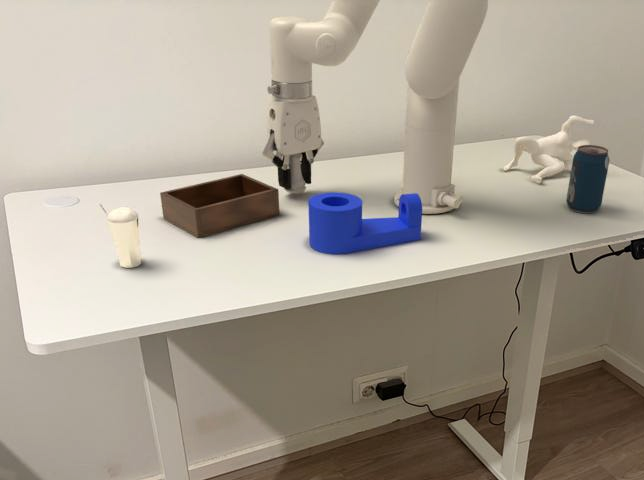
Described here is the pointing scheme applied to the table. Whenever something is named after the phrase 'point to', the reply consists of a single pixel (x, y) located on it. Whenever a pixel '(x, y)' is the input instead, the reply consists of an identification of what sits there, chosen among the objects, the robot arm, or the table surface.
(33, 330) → the table surface
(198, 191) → the crate
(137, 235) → the milkshake
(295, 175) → the rook chess piece
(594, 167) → the soda can
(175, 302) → the table surface
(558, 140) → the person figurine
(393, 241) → the bracket
